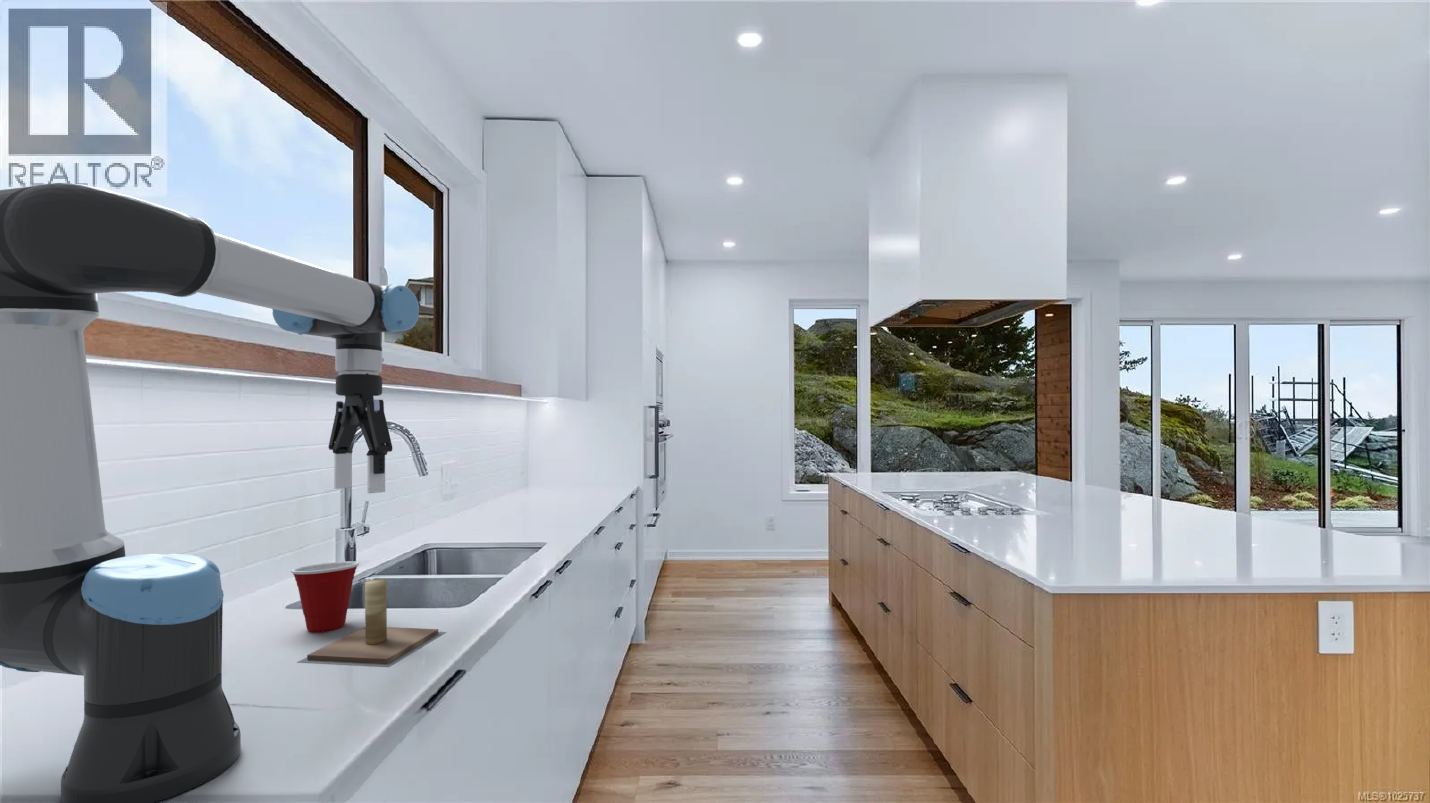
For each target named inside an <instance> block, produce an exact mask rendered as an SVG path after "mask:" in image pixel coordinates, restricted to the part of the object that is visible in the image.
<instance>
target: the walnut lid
mask: <svg viewBox="0 0 1430 803" xmlns="http://www.w3.org/2000/svg"><path fill="white" fill-rule="evenodd" d="M364 602H365V604H364V609H365V610H364V612H365V613H364V614H365V615H364V618H365V621H364V624H365V625H364V626H365V627H362V628H360V629H359V630H356V631H353V632H352V633H350V634H347V635H346V636H344V637H342V638H340V639H337V640H335V641H333V642H331V643H329V644H328V645H325V646H323V647H321V648H319V649H317V650H315V651H312V652H311V653H308V654H307V655H306V656H307V660H315V661H335V662H355V663H375V664H388V663H390V662H392V661H393V660H395V659H397V658H398V657H400V656H402V655H403V654H405V653H407V652H408V651H410V650H412V649H413V648H415V647H417V646H418V645H420V644H422V643H424V642H425V641H427V640H429V639H430V638H432V637H434V636H435V635H437V634H438V632H439V629H438V628H418V627H416V628H415V627H398V626H397V627H393V626H392V627H391V626H388V625H387V624H388V620H387V618H388V617H387V614H388V611H387V609H388V606H387V603H388V601H387V580H386V579H383V578H382V579H379V578H378V579H373V580H369V581H366V582H364Z"/></svg>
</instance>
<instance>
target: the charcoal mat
mask: <svg viewBox="0 0 1430 803" xmlns="http://www.w3.org/2000/svg"><path fill="white" fill-rule="evenodd" d="M446 633H447V631H438V634H437V635H435V636H434V637H432V638H430V639H429V640H427V641H425V642H424V643H422V644H420V645H418V646H417V647H415V648H413V649H412V650H410V651H408V652H407V653H405V654H403V655H402V656H400V657H398V658H397V659H395V660H393V661H392V662H390V663H388V664H375V663H355V662H335V661H315V660H307V657H304V658H302V659H301V660H298V661H296V663H300V664H319V665H320V664H321V665H335V666H336V665H338V666H357V667H358V666H360V667H375V668H376V667H379V668H390V667H391V666H393V665H395V664H396V663H399V662H400V661H402V660H403V659H405V658H406V657H408V656H410V655H411V654H413V653H415V652H417V651H418V650H419V649H423V647H425V646H426V645H428V644H430V643H431V642H433V641H434V640H437V638H440V637H441V636H443V635H444V634H446Z"/></svg>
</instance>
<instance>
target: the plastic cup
mask: <svg viewBox="0 0 1430 803" xmlns="http://www.w3.org/2000/svg"><path fill="white" fill-rule="evenodd" d="M359 565H360V562H358V561H356V560H355V561H351V560H350V561H349V560H347V561H334V562H325V563H317V564H310V565H304V566H299V567H296V568H293V569H291V570H290V573H291V574H292V575H293V576H294V579H295V582H296V587H297V589H298V594H299V599H300V603H301V608H302V614H303V616H304V619H305V620H304V621H305V626H306V627H305V628H306V630H307V631H308V633H313V634H321V633H322V634H323V633H329V632H333V631H336V630H337V631H338V630H340V629H342V628H344V626H345V624H346V620H347V614H348V609H349V605H350V600H351V599H350V598H351V594H352V587H353V582H354V579H355V574H356V570H357V568H358V566H359Z"/></svg>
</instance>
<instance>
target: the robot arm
mask: <svg viewBox="0 0 1430 803" xmlns="http://www.w3.org/2000/svg"><path fill="white" fill-rule="evenodd" d="M211 227H212V226H210V225H209V224H208V223H207V222H206V221H204V220H202V218H198V217H195V216H191V215H189V214H185V213H184V212H182V211H181V212H180V211H177V210H174V209H171V208H168V207H165V206H162V205H159V204H156V203H153V202H150V201H146V200H144V199H140V198H137V197H134V196H129V195H127V194H123V193H119V192H117V191H112V190H110V189H105V188H101V187H95V186H91V185H86V184H79V183H70V182H69V183H66V182H53V183H43V184H38V185H33V186H25V187H23V186H22V187H16V188H15V187H14V188H8V189H6V188H4V189H0V666H1V667H4V668H6V669H11V670H12V669H13V670H16V671H18V672H23V673H24V672H27V673H28V672H29V673H40V672H43V673H44V672H45V673H54V674H65V675H73V676H83V700H84V705H83V715H84V716H83V722H82V723H81V724H82V725H81V727H80V730H79V732H78V735H77V737H76V741H75V744H74V746H73V749H72V753H71V756H70V758H69V761H68V764H67V766H66V767H65V770H64V771H63V773H62V775H61V779H60V803H156V802H159V801H162V800H166V799H168V798H171V797H175V796H177V795H179V794H182V793H184V792H186V791H189V790H192V789H194V788H197V787H198V786H200V785H203V783H206V782H208V781H210V780H211V779H213V778H216V777H217V776H218V775H220V774H221V773H223V772H224V771H226V770H227V769H228V768H230V767H231V766H232V765H233V764H234V763H235V762H236V761H237V759H238V758H239V756H240V754H241V751H242V749H241V747H242V746H241V742H242V741H241V740H242V738H241V730H240V727H239V725H238V723H237V722H236V721H235V718H234V714H233V711H232V709H231V706H230V704H229V702H228V699H227V696H226V694H225V692H224V690H223V680H222V679H223V678H222V677H223V675H222V674H223V670H222V669H223V613H224V612H223V610H224V609H223V605H224V604H223V602H224V595H225V594H224V590H223V589H222V580H221V579H222V578H221V571H220V569H219V567H218V566H217V565H216V564H215V563H214V562H213V561H212V560H209V559H208V558H205V557H202V556H197V555H192V554H186V553H185V554H184V553H168V554H160V553H145V554H136V555H135V554H133V555H129V556H126V549H125V548H126V547H125V541H124V540H123V539H122V538H120V537H117V536H116V535H114V534H112V533H110V532H108V531H107V529H106V524H105V515H104V514H105V513H104V507H103V504H104V503H103V498H102V497H103V496H102V487H101V482H100V479H101V477H100V471H99V470H100V469H99V461H98V451H97V443H96V434H95V425H94V418H93V417H94V416H93V407H92V400H91V399H92V398H91V390H90V389H91V388H90V382H89V380H90V379H89V373H88V372H89V371H88V363H87V356H86V353H87V352H86V347H85V346H86V345H85V338H84V332H85V328H86V327H87V326H89V325H90V324H92V322H93V321H95V320H97V318H98V317H100V312H99V303H98V302H99V300H98V294H103V293H121V292H122V293H123V292H124V293H125V292H126V293H127V292H129V293H130V292H131V293H132V292H133V293H134V292H137V293H138V292H143V293H145V292H146V293H158V294H163V295H168V296H172V297H173V296H174V297H178V298H186V297H191V296H193V295H196V294H197V293H200V294H203V295H209V296H212V297H218V298H222V299H226V300H231V301H236V302H240V303H245V304H249V305H254V306H257V307H263V308H267V309H270V310H272V313H271V314H272V318H273V320H274V321H275V322H274V323H275V324H277V326H278V327H279V328H281V329H282V330H284V331H286V332H290V333H295V334H298V335H300V336H301V335H308V336H315V337H323V338H331V339H335V351H334V352H335V356H334V357H335V358H334V359H335V362H334V364H335V366H334V368H335V371H336V372H337V373H338V374H336V376H335V395H337V396H342V397H345V399H344V400H337V401H336V404H335V414H334V418H333V423H332V424H333V425H332V429H331V432H330V439H329V443H328V449H329V451H331V450H332V453H333V454H334V464H333V465H334V470H333V472H334V475H333V476H334V482H333V483H334V484H333V485H334V489H335V490H339V489H348V488H349V489H350V488H352V453H353V449H352V448H351V446H352V444H353V441H354V438H355V437H356V434H357V431H358V428H360V430H361V434H362V435H363V438H364V440H365V443H366V446H367V448H368V451H367V453H366V457H367V494H377V493H385V492H386V456H387V455H388V453H390V452H392V451H393V444H392V439H391V436H390V435H391V434H390V431H389V427H388V423H387V418H386V414H385V406H384V399H374V398H375V397H377V396H381V395H382V394H383V377H382V376H381V375H379V374H380V373H382V372H383V362H384V361H385V359H384V357H383V347H382V346H383V333H391V334H394V333H396V332H405V331H410V330H411V329H413V327H415V325H416V323H418V320H419V316H420V314H419V312H420V311H419V310H420V306H419V301H418V298H417V296H416V295H415V293H414V292H413V291H412V290H411V289H410V288H409V287H407V286H405V285H401V284H399V285H394V284H386V285H377V284H374V283H371V282H369V281H365V280H362V279H358V278H355V277H352V276H348V275H345V274H342V273H340V272H336V271H333V270H330V269H326V268H323V267H320V266H318V265H315V264H311V263H308V262H305V261H302V260H299V259H297V258H294V257H290V256H288V255H284V254H281V253H278V252H276V251H271V250H268V249H266V248H262V247H260V246H257V245H253V244H250V243H247V242H244V241H242V240H241V241H240V240H237V239H235V238H233V237H228V236H226V235H222V234H219V233H216V232H214V230H213V228H211Z"/></svg>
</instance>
